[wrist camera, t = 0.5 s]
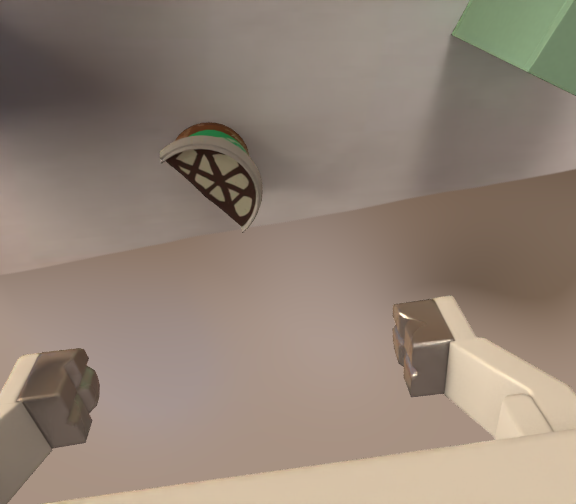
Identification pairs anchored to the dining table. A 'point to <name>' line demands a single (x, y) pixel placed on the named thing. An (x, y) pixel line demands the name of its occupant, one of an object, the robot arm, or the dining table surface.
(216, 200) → the food container
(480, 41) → the green box
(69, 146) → the dining table surface
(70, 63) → the dining table surface
